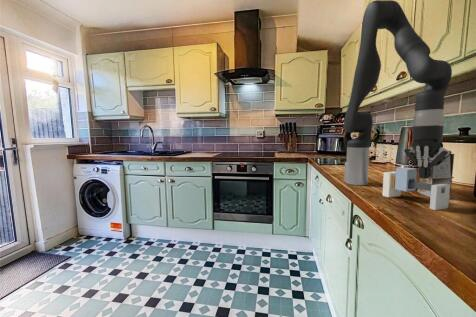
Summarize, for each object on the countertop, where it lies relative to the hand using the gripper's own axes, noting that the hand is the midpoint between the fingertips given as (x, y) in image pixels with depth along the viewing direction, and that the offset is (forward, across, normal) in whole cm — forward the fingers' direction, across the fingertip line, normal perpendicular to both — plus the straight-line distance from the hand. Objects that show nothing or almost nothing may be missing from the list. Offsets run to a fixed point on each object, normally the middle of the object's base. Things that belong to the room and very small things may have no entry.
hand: (424, 178), depth 73 cm
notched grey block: (+5, -6, 0) cm, 8 cm away
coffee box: (+9, -6, +15) cm, 19 cm away
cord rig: (+9, -3, 0) cm, 9 cm away
